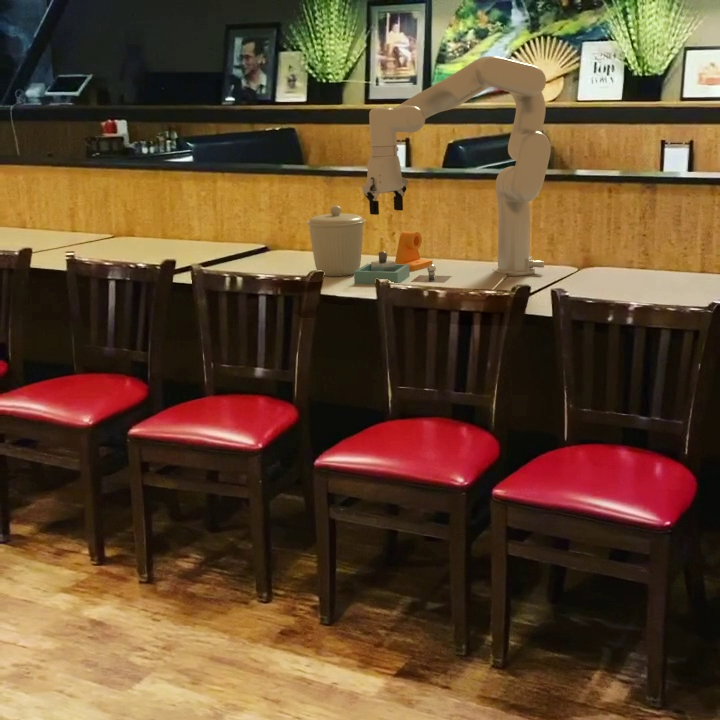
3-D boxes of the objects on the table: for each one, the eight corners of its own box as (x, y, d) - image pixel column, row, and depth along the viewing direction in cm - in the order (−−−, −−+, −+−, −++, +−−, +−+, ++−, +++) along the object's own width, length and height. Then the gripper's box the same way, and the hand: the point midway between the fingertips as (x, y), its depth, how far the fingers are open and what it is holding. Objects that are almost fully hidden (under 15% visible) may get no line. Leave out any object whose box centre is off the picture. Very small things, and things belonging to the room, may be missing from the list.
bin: (409, 279, 312) (409, 264, 311) (397, 288, 300) (397, 272, 299) (367, 278, 316) (367, 263, 315) (354, 286, 304) (354, 271, 303)
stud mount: (452, 279, 310) (452, 262, 309) (444, 285, 301) (444, 268, 300) (419, 278, 313) (419, 261, 312) (410, 284, 304) (410, 267, 303)
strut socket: (383, 277, 312) (383, 250, 310) (395, 279, 308) (394, 251, 306) (371, 279, 308) (370, 252, 306) (383, 281, 305) (382, 254, 303)
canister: (379, 273, 324) (377, 204, 318) (332, 281, 313) (330, 211, 307) (343, 266, 337) (340, 200, 332) (297, 274, 327) (294, 206, 321)
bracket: (413, 274, 321) (413, 235, 317) (394, 272, 325) (393, 233, 322) (433, 268, 329) (433, 230, 326) (414, 266, 333) (414, 229, 330)
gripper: (396, 149, 308) (398, 207, 312) (352, 154, 296) (355, 215, 301) (414, 149, 302) (416, 209, 307) (371, 155, 291) (373, 217, 296)
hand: (386, 212), depth 304 cm, fingers open, 9 cm apart
